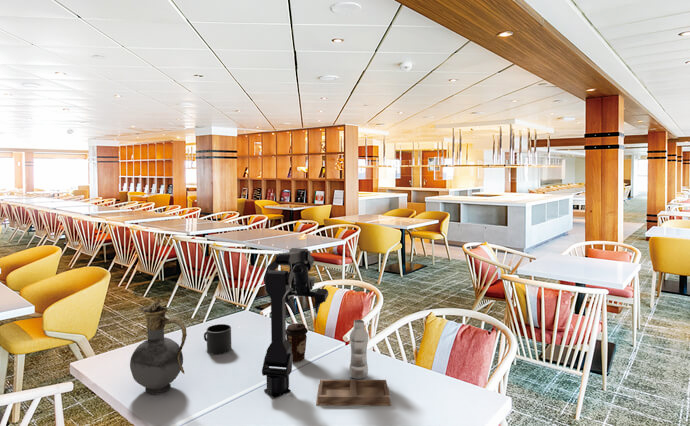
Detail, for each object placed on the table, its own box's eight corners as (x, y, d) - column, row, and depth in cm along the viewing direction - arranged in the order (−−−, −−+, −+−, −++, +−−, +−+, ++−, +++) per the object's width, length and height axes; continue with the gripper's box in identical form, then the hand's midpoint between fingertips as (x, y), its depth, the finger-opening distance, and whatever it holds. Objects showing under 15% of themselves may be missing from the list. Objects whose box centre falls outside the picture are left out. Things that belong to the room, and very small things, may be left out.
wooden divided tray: (316, 405, 131) (315, 397, 131) (318, 385, 143) (318, 378, 143) (390, 405, 131) (390, 397, 131) (387, 386, 143) (387, 379, 143)
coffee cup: (310, 355, 167) (309, 322, 166) (306, 364, 159) (305, 330, 158) (288, 354, 168) (287, 322, 167) (283, 363, 160) (282, 329, 159)
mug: (211, 343, 179) (210, 322, 178) (236, 347, 175) (235, 325, 174) (196, 352, 170) (196, 330, 169) (222, 356, 166) (221, 333, 165)
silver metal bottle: (346, 374, 151) (346, 319, 149) (363, 371, 154) (363, 317, 152) (354, 383, 145) (354, 325, 143) (371, 379, 148) (372, 323, 146)
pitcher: (149, 378, 148) (146, 294, 145) (197, 385, 143) (194, 298, 140) (125, 394, 138) (121, 303, 135) (176, 402, 133) (173, 308, 130)
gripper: (330, 269, 170) (333, 303, 176) (285, 268, 175) (290, 301, 180) (322, 283, 160) (326, 318, 165) (276, 281, 164) (281, 316, 170)
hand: (306, 312), depth 170 cm, fingers open, 9 cm apart
